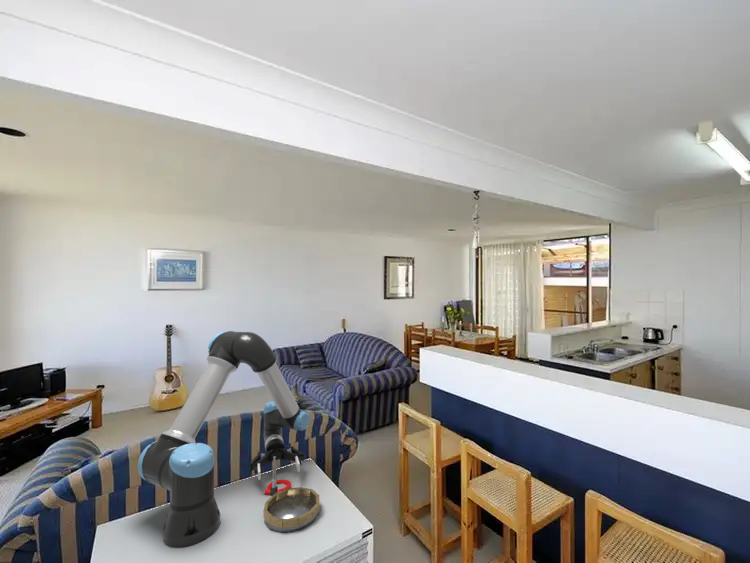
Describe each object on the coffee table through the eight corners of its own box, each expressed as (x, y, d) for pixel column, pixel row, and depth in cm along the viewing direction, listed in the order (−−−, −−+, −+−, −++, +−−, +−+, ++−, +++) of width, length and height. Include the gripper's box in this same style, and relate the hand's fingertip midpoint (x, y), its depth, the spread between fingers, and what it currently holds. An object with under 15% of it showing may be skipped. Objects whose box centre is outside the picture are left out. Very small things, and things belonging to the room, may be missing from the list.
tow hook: (273, 482, 127) (261, 495, 118) (273, 446, 129) (262, 456, 119) (294, 483, 126) (284, 497, 117) (294, 447, 127) (284, 458, 118)
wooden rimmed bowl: (252, 526, 102) (252, 514, 102) (285, 494, 118) (285, 484, 118) (301, 537, 97) (301, 525, 97) (328, 503, 113) (328, 492, 113)
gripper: (305, 450, 144) (314, 475, 125) (242, 462, 136) (241, 490, 116) (305, 433, 145) (314, 454, 125) (242, 443, 136) (241, 468, 116)
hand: (279, 471), depth 120 cm, fingers open, 13 cm apart
